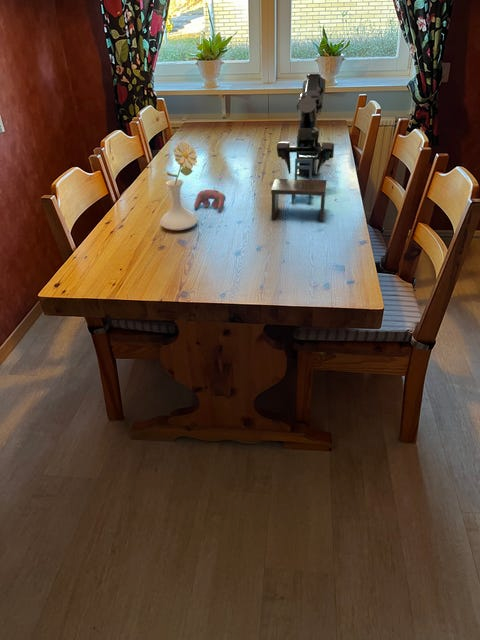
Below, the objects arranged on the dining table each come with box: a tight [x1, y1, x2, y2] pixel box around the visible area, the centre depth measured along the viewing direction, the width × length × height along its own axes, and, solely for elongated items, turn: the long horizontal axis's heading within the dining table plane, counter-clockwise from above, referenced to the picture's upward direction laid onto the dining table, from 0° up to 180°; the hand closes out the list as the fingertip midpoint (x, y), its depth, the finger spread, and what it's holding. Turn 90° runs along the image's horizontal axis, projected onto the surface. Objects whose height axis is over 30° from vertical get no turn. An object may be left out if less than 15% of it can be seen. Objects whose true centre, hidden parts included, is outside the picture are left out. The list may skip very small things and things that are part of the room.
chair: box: [291, 158, 313, 205], centre depth 163 cm, size 7×6×13 cm
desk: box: [270, 178, 328, 223], centre depth 154 cm, size 10×16×10 cm, turn 79°
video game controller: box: [193, 189, 226, 213], centre depth 162 cm, size 10×5×7 cm, turn 71°
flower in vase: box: [159, 140, 198, 231], centre depth 146 cm, size 13×11×25 cm
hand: (303, 173), depth 164 cm, fingers open, 9 cm apart
